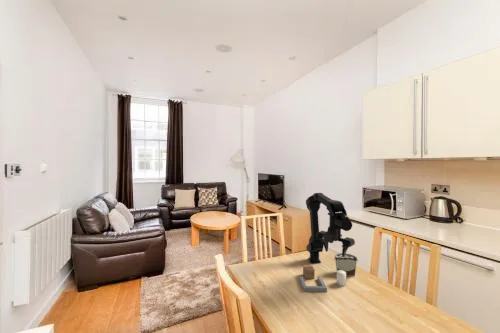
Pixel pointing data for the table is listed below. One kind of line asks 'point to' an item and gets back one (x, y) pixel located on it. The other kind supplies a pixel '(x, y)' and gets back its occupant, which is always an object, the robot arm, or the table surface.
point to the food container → (346, 263)
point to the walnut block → (308, 272)
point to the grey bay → (313, 288)
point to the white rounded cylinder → (341, 278)
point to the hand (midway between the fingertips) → (334, 254)
